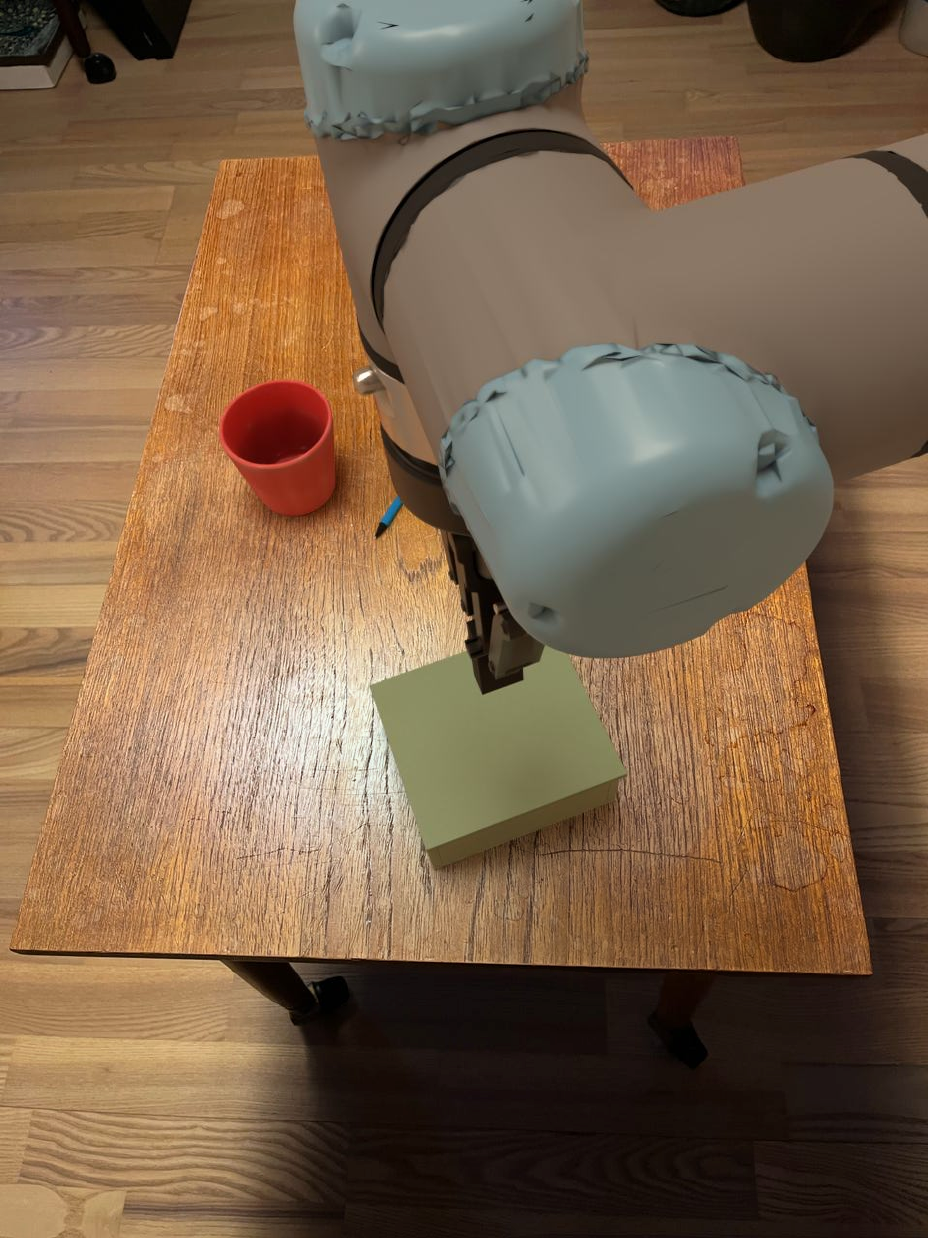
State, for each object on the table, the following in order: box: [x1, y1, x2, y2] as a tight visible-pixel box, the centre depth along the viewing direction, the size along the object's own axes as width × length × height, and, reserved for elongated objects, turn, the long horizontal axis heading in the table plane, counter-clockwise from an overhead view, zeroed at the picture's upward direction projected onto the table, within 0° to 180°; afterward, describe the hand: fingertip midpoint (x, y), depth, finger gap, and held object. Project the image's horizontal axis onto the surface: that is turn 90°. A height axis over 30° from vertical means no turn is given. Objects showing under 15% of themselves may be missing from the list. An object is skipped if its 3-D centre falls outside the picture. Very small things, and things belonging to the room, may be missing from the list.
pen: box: [374, 494, 404, 540], centre depth 92 cm, size 1×19×1 cm, turn 153°
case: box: [427, 779, 620, 871], centre depth 73 cm, size 14×16×7 cm
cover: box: [369, 645, 628, 854], centre depth 69 cm, size 14×16×1 cm
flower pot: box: [218, 378, 336, 517], centre depth 88 cm, size 11×11×10 cm
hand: (498, 677), depth 55 cm, fingers closed
